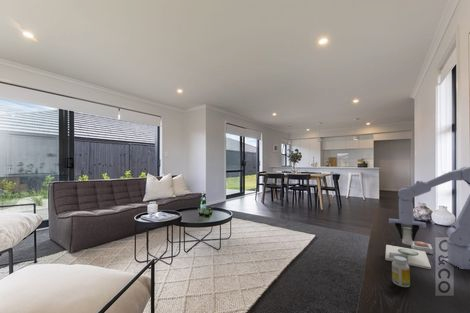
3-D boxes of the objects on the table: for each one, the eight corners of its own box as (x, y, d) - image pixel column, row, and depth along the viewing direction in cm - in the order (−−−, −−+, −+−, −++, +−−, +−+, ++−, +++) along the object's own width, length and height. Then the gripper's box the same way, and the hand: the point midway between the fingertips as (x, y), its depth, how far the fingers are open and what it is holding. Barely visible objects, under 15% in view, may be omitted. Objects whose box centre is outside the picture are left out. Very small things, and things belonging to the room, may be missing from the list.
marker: (415, 245, 104) (414, 229, 104) (405, 244, 105) (405, 229, 105) (409, 241, 108) (408, 227, 108) (400, 241, 109) (399, 227, 109)
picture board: (431, 269, 91) (430, 266, 91) (385, 259, 100) (385, 257, 100) (425, 253, 107) (425, 251, 107) (386, 246, 116) (386, 244, 116)
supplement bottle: (391, 283, 80) (390, 258, 81) (393, 278, 84) (392, 253, 85) (409, 289, 77) (408, 262, 77) (410, 283, 81) (409, 257, 81)
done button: (427, 247, 108) (427, 245, 108) (415, 245, 111) (415, 243, 111) (426, 244, 112) (426, 242, 112) (415, 242, 115) (415, 240, 115)
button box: (432, 254, 106) (432, 249, 106) (412, 250, 111) (411, 245, 111) (430, 248, 112) (430, 244, 112) (411, 245, 117) (410, 241, 117)
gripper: (424, 212, 106) (425, 239, 105) (388, 209, 115) (389, 234, 114) (426, 215, 100) (427, 244, 100) (388, 211, 109) (389, 238, 108)
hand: (407, 239), depth 106 cm, fingers closed on marker, 4 cm apart
